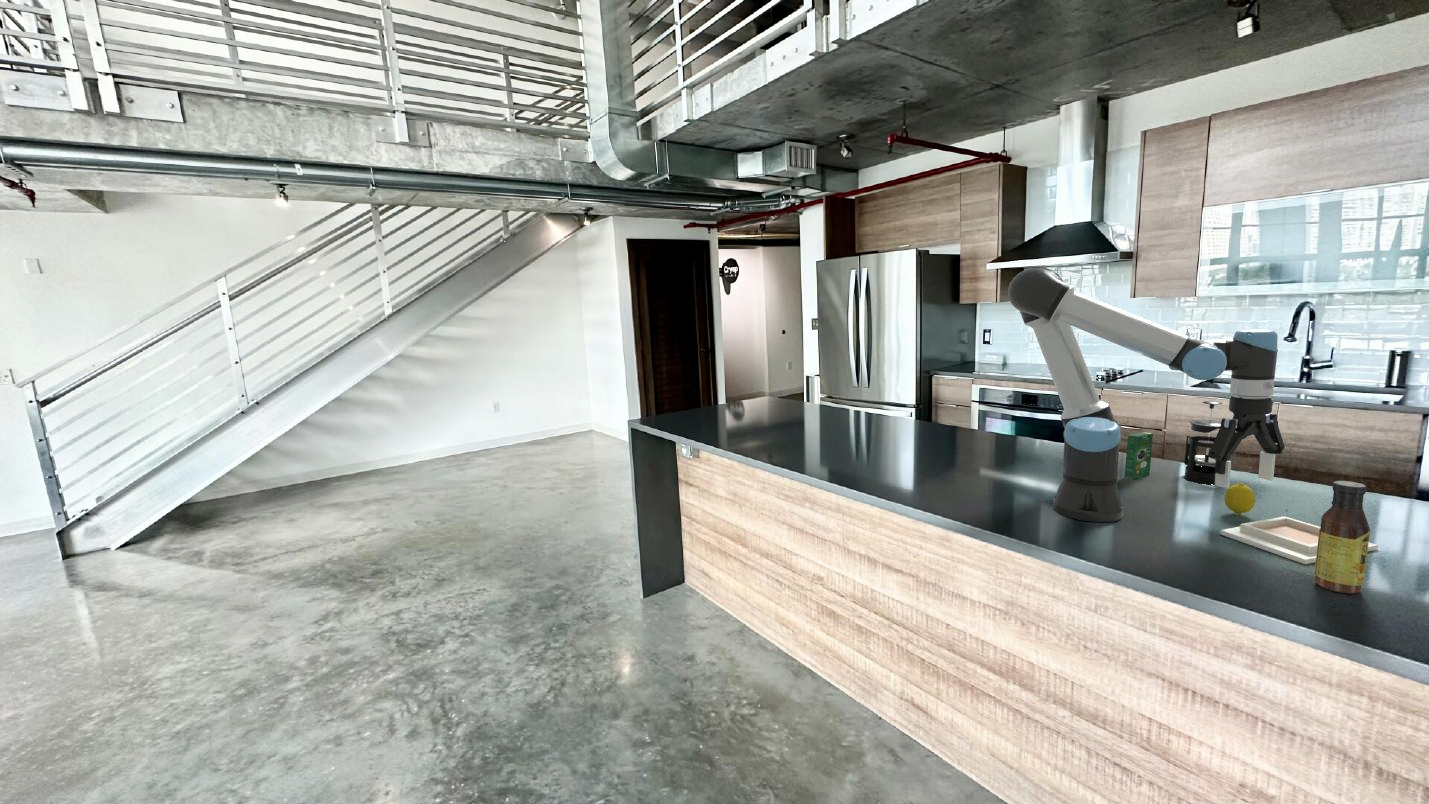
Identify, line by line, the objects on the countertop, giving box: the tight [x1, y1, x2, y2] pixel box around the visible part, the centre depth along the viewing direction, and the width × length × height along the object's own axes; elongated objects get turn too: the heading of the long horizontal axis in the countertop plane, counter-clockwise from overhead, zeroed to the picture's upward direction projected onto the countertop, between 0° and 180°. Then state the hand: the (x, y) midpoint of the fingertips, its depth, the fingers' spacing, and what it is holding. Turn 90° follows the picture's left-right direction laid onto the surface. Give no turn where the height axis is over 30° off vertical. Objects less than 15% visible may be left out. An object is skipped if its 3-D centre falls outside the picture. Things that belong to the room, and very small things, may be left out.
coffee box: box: [1123, 431, 1154, 480], centre depth 172 cm, size 8×3×13 cm, turn 114°
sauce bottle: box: [1314, 480, 1371, 595], centre depth 106 cm, size 6×6×20 cm
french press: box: [1183, 400, 1223, 486], centre depth 165 cm, size 12×9×23 cm
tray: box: [1219, 515, 1379, 565], centre depth 126 cm, size 20×16×2 cm
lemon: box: [1223, 482, 1256, 516], centre depth 141 cm, size 6×6×8 cm
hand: (1244, 482), depth 140 cm, fingers open, 13 cm apart
